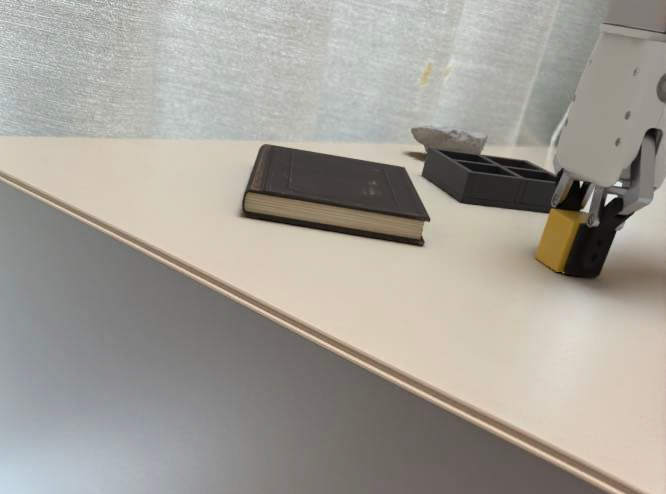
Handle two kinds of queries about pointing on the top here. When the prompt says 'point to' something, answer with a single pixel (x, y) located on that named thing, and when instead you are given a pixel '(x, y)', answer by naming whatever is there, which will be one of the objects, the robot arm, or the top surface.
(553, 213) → the block
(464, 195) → the divided tray
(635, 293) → the top surface
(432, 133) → the fossil
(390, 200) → the hardcover book
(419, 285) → the top surface
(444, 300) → the top surface
